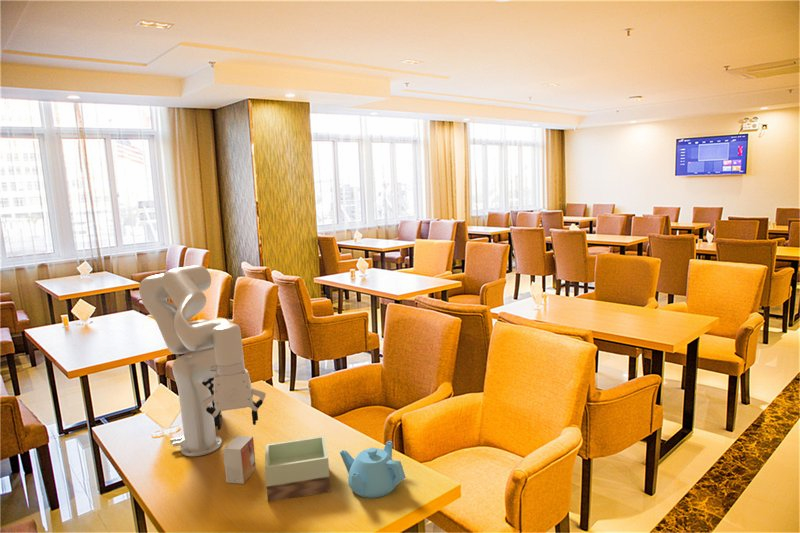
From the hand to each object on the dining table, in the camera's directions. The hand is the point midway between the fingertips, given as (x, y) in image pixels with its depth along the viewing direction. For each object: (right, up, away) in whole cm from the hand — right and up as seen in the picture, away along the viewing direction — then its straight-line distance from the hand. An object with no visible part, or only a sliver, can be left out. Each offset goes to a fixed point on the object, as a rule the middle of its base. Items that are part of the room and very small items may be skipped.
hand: (237, 425), depth 152 cm
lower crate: (+18, -16, -2) cm, 24 cm away
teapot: (+39, -15, -5) cm, 42 cm away
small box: (0, -16, +3) cm, 16 cm away
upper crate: (+18, -11, -3) cm, 21 cm away
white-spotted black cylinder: (-23, -10, +42) cm, 49 cm away
